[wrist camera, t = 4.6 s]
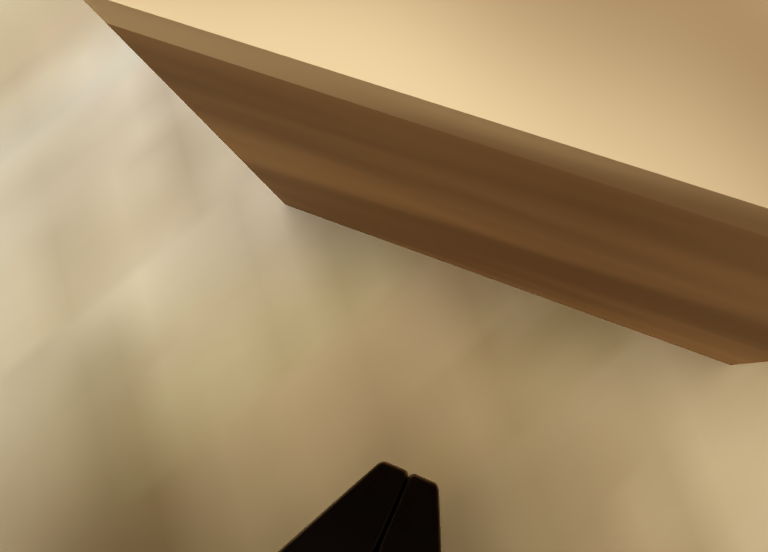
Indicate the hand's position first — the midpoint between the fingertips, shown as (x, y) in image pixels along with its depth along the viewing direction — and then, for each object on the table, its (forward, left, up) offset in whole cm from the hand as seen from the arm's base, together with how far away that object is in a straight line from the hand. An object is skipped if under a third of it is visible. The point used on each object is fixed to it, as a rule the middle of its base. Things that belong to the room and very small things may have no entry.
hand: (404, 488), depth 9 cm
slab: (+5, -4, -8) cm, 10 cm away
